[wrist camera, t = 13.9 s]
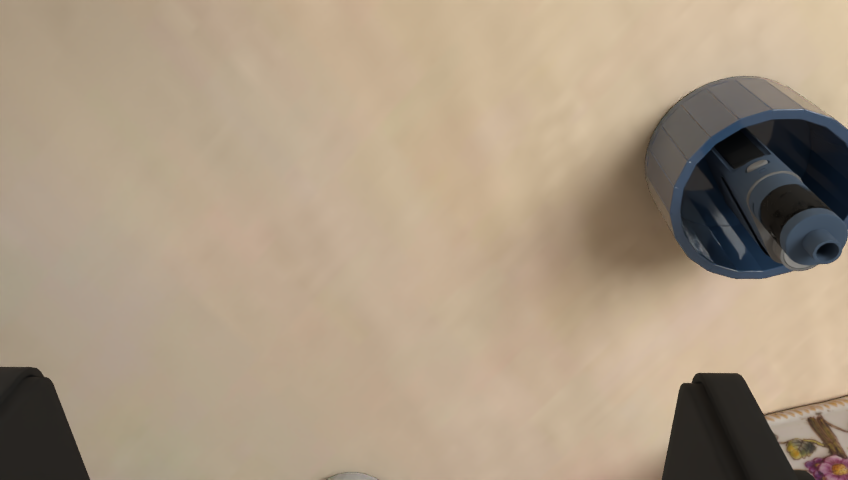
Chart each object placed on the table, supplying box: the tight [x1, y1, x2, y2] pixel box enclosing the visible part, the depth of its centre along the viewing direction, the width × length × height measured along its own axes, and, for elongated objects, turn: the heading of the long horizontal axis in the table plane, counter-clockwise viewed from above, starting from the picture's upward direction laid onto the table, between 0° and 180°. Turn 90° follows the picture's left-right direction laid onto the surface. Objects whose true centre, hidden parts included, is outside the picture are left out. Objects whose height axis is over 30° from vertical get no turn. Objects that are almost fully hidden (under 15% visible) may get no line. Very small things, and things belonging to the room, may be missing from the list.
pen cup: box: [645, 76, 848, 279], centre depth 35 cm, size 9×9×6 cm
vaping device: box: [704, 127, 848, 271], centre depth 32 cm, size 3×5×12 cm, turn 32°
